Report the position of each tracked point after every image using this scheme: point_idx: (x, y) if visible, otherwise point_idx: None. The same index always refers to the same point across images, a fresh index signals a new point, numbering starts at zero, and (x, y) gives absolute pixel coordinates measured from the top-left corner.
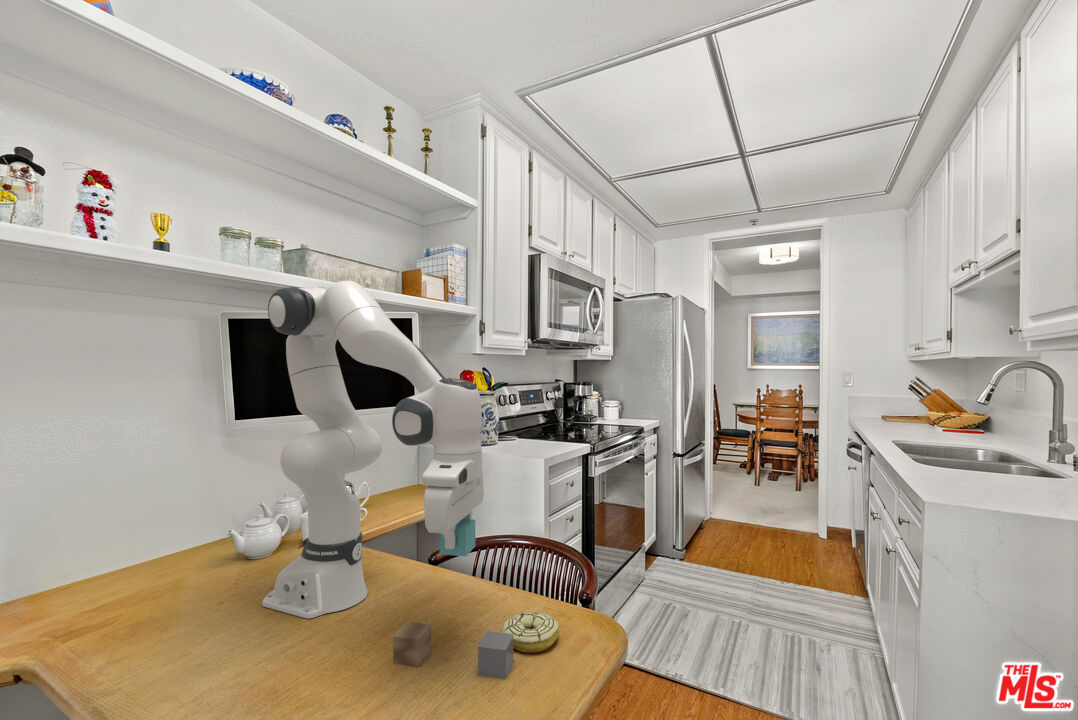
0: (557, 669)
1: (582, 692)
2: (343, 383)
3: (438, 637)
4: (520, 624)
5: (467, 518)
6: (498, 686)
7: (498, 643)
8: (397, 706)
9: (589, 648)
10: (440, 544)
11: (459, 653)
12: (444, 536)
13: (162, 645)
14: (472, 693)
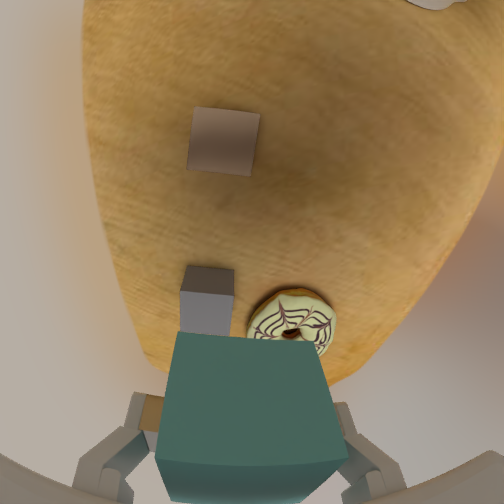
0: None
1: None
2: None
3: (295, 168)
4: (288, 327)
5: (350, 475)
6: (168, 296)
7: (196, 319)
8: (100, 167)
9: None
10: (171, 369)
11: (243, 222)
12: (107, 438)
13: None
14: (146, 266)
